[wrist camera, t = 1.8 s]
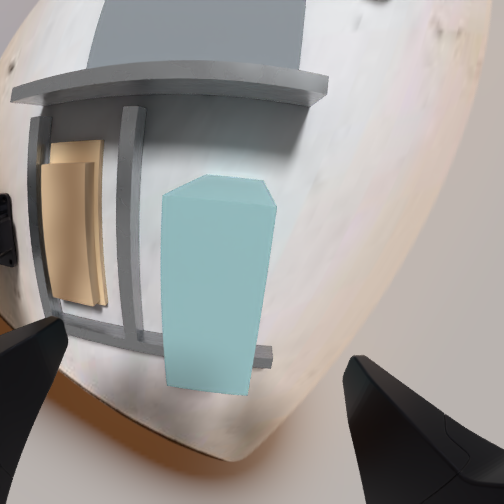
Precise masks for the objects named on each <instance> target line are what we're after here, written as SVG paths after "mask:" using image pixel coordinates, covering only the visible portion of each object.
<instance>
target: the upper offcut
mask: <svg viewBox="0 0 504 504" xmlns="http://www.w3.org/2000/svg"><path fill="white" fill-rule="evenodd" d="M94 164H95V162H72V163H50V164H43V165H41V197H42V218H43V231H44V241H45V250H46V257H47V265H48V271H49V277H50V283H51V288H52V293H53V297H55V298H59V299H63V300H67V301H71V302H76V303H80V304H84V305H89V306H95V304H96V303H97V302H98V301H99V300H100V291H99V283H98V273H97V263H96V250H95V233H94Z"/></svg>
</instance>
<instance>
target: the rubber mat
mask: <svg viewBox="0 0 504 504" xmlns="http://www.w3.org/2000/svg"><path fill="white" fill-rule="evenodd" d="M305 5H306V0H105V3H104V6H103V8H102V11H101V15H100V18H99V21H98V24H97V28H96V31H95V35H94V38H93V42H92V46H91V50H90V54H89V59H88V63H87V68H86V69H90V68H96V67H102V66H109V65H117V64H126V63H136V62H149V61H171V60H206V61H228V62H241V63H252V64H261V65H269V66H276V67H283V68H290V69H296V70H299V65H300V55H301V46H302V36H303V26H304V16H305Z"/></svg>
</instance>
